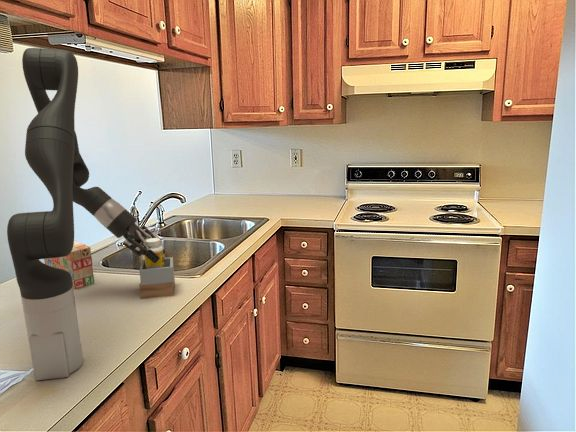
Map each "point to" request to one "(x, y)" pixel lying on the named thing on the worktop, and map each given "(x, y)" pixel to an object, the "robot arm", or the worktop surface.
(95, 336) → the worktop surface
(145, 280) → the tower top
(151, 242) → the supplement bottle
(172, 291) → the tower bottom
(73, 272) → the stack of blocks
